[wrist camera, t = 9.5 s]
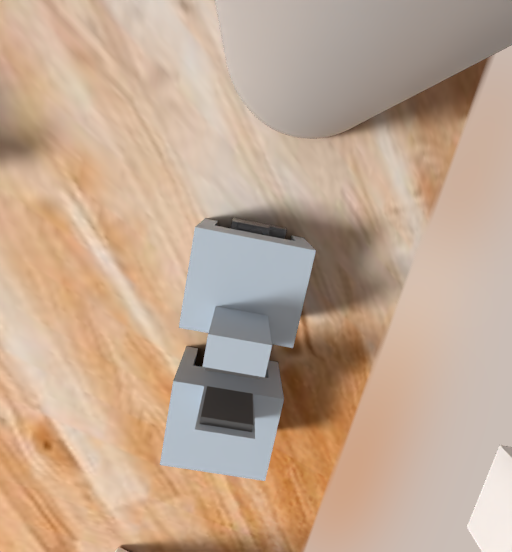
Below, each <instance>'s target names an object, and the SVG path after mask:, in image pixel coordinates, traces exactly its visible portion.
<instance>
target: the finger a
mask: <svg viewBox="0 0 512 552" xmlns="http://www.w3.org/2000/svg"><path fill="white" fill-rule="evenodd" d="M197 352H198V348H193V347H188V346H186V349H185V352H184V354H183V357H182V360H181V362H180V365H179V368H178V370H177V373H176V375H175V378H174V381H173V387H172V393H171V399H170V405H169V412H168V418H167V424H166V430H165V437H164V443H163V449H162V455H161V462H160V465H164V466H171V467H177V468H184V469H190V470H197V471H204V472H210V473H217V474H223V475H230V476H236V477H243V478H250V479H256V480H263V481H265V479H266V474H267V470H268V466H269V462H270V457H271V453H272V449H273V445H274V440H275V436H276V432H277V427H278V423H279V419H280V415H281V410H282V406H283V402H284V396H283V390H282V383H281V377H280V371H279V365H278V362H275V361H268V366H267V370H266V375H265V377H260V379H253V378H247V377H241V376H236V375H230V374H224V373H218V372H212V371H207V370H206V367H200V366H195V363H196V358H197Z"/></svg>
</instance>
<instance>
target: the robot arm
mask: <svg viewBox="0 0 512 552" xmlns="http://www.w3.org/2000/svg"><path fill="white" fill-rule="evenodd" d="M467 528H468V530H469V532H470V533H471V535H472V536H473V538H474V540H475V542H476V543H477V545H478V546H479V548H480V549H481V551H482V552H512V447H508V446H502V445H500V446H499V448H498V451H497V453H496V456H495V458H494V461H493V463H492V466H491V468H490V471H489V473H488V476H487V478H486V481H485V483H484V486H483V488H482V491H481V493H480V496H479V498H478V501H477V503H476V506H475V508H474V511H473V513H472V516H471V518H470V521H469V523H468V525H467Z"/></svg>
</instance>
